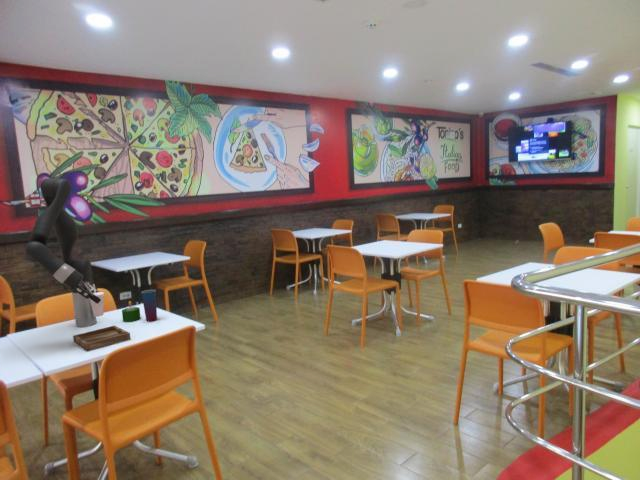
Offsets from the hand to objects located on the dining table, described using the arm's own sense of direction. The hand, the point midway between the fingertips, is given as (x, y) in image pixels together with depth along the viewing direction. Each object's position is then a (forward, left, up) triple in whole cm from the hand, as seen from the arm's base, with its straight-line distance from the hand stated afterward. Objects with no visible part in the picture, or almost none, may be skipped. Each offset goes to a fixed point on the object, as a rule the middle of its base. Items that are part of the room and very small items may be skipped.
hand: (101, 300), depth 199 cm
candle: (-23, +21, -19) cm, 36 cm away
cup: (-13, +27, -19) cm, 35 cm away
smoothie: (-1, -1, -7) cm, 7 cm away
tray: (-1, -1, -18) cm, 18 cm away
